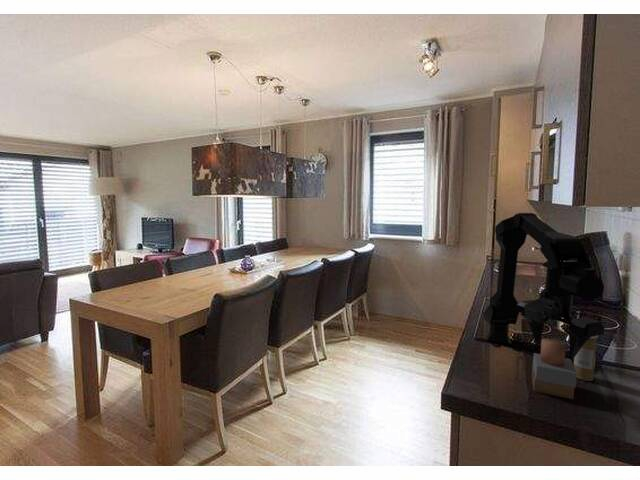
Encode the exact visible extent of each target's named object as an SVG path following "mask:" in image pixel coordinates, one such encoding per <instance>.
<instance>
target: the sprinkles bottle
mask: <svg viewBox="0 0 640 480" xmlns="http://www.w3.org/2000/svg"><path fill="white" fill-rule="evenodd" d="M598 338H599V335H597V336H593V337H590V338H589V340H588V341H587V342H586V343H585V344H584V345H583V346H582V348H581V349H580V350H579V352H578V353H577V354H576V356H575V357H574V358H573V366H574V368H575V370H576V372H577V379H579V380H581V381H584V382H585V381H586V382H590V381H593V380H594V373H595V372H594V371H595V366H596V352H597V340H598Z"/></svg>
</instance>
